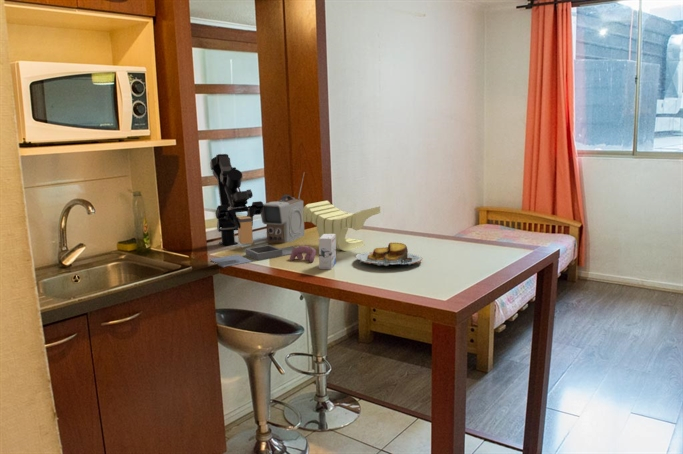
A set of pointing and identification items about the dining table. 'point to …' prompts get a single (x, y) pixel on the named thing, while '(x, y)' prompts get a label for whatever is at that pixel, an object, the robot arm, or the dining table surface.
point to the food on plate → (389, 255)
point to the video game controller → (303, 249)
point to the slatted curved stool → (337, 222)
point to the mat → (230, 260)
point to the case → (268, 252)
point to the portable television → (284, 219)
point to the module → (245, 230)
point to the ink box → (327, 251)
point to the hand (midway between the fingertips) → (245, 227)
